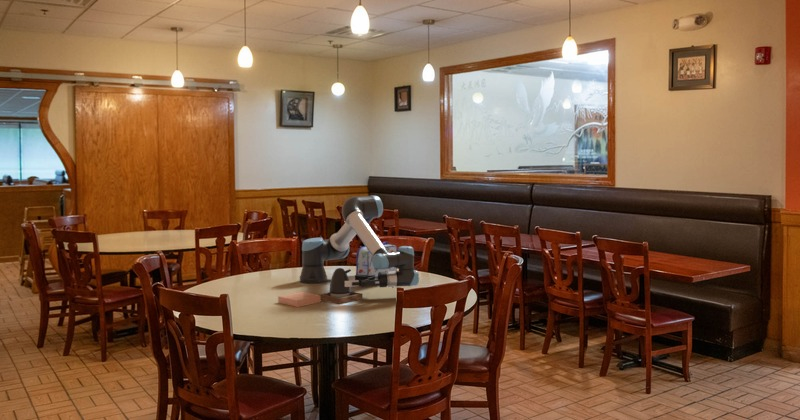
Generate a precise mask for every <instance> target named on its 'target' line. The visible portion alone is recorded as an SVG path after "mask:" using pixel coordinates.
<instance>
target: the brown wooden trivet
mask: <svg viewBox="0 0 800 420" xmlns="http://www.w3.org/2000/svg"><path fill="white" fill-rule="evenodd" d="M317 295H320V299H321V302H322V301H323V302H329V303H333V304H338V305H341V304H345V303H351V302H355V301H358V300H363V298H364V297H363V295H364V294H363V293H360V292H356V291H351V292H350V295H349V296H347V297H342V298H337V297H331V294H330V292H329V291H328V292H324V293H320V294H317Z"/></svg>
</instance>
